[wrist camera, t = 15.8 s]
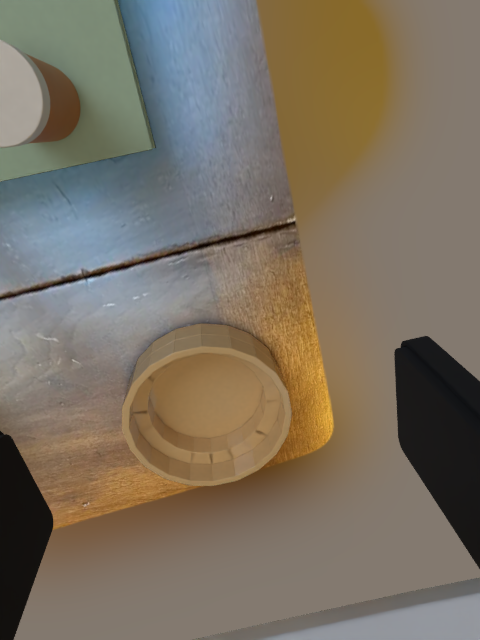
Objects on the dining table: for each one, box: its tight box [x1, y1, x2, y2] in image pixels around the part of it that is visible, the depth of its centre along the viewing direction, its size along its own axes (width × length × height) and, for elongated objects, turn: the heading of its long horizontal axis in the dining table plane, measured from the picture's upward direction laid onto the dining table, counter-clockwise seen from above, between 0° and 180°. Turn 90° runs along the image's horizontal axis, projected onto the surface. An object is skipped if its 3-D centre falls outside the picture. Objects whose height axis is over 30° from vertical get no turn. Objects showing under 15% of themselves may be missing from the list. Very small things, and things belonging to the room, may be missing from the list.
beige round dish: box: [122, 323, 292, 486], centre depth 38 cm, size 14×14×5 cm
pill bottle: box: [0, 40, 80, 148], centre depth 24 cm, size 5×5×8 cm
